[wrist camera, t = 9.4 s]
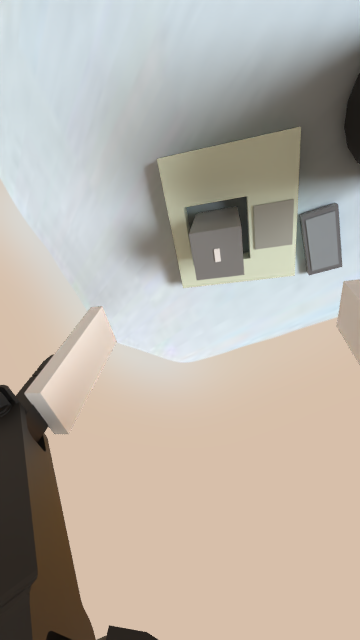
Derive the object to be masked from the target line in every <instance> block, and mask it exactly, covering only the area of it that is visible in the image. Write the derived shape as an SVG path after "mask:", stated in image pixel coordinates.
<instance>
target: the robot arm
mask: <svg viewBox="0 0 360 640" xmlns="http://www.w3.org/2000/svg"><path fill="white" fill-rule="evenodd" d="M337 328H338V329H339V331H340V333H341V334H342V336H343V338H344V340H345V341H346V343H347V344H348V346H349V348H350V350H351V351H352V353H353V354H354V356H355V358H356V360H357V361H358V363H359V365H360V280H351V281H344V282H343V288H342V295H341V301H340V308H339V314H338V320H337ZM116 342H117V341H116V339H115V336H114V334H113V331H112V329H111V326H110V324H109V321H108V319H107V317H106V314H105V312H104V309H103V307H102V306H99V307H91V308H90V309H89V310H88V312H87V313H86V314H85V316H84V317H83V318H82V319H81V321H80V322H79V324H78V325H77V326H76V327H75V328H74V330H73V331H72V332H71V334H70V335H69V336H68V337H67V339H66V340H65V341H64V343H63V344H62V345H61V347H60V348H59V349H58V350H57V352H56V353H55V354H54V355H51V356H50V357H48V358H47V359H46V360H45V361H43V363H42V364H41V365H40V366H39V368H38V369H37V371H35V373H34V374H33V375H32V377H31V378H30V379H29V380H28V381H27V383H26V384H25V385H24V386H23V387H22V389H21V390H20V391H19V393H18V394H17V395H16V396H15V395H14V394H13V393H12V391H11V390H10V389H9V387H8V386H6V385H0V640H96V639H95V635H94V631H93V628H92V625H91V622H90V620H89V618H88V616H87V614H86V612H85V610H84V608H83V605H82V602H81V598H80V594H79V589H78V584H77V580H76V574H75V570H74V565H73V560H72V555H71V550H70V546H69V540H68V536H67V531H66V526H65V521H64V516H63V511H62V506H61V502H60V497H59V492H58V487H57V483H56V477H55V473H54V468H53V463H52V458H51V453H50V449H49V444H48V439H47V437H46V435H45V434H44V432H45V431H46V429H47V427H48V426H49V428H50V429H51V430H52V431H53V433H54V434H69V433H70V431H71V429H72V427H73V425H74V423H75V421H76V419H77V417H78V416H79V414H80V412H81V410H82V408H83V406H84V404H85V402H86V400H87V398H88V396H89V394H90V392H91V390H92V388H93V387H94V385H95V383H96V381H97V379H98V377H99V375H100V373H101V371H102V369H103V367H104V366H105V364H106V361H107V359H108V358H109V356H110V354H111V352H112V350H113V348H114V346H115V344H116ZM98 640H158V639H156V638H155V637H153V636H152V635H150V634H149V633H147V632H142V631H137V630H131V629H126V628H120V627H114V626H109V628H108V632H107V636H104V637H102V638H100V639H98Z"/></svg>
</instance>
